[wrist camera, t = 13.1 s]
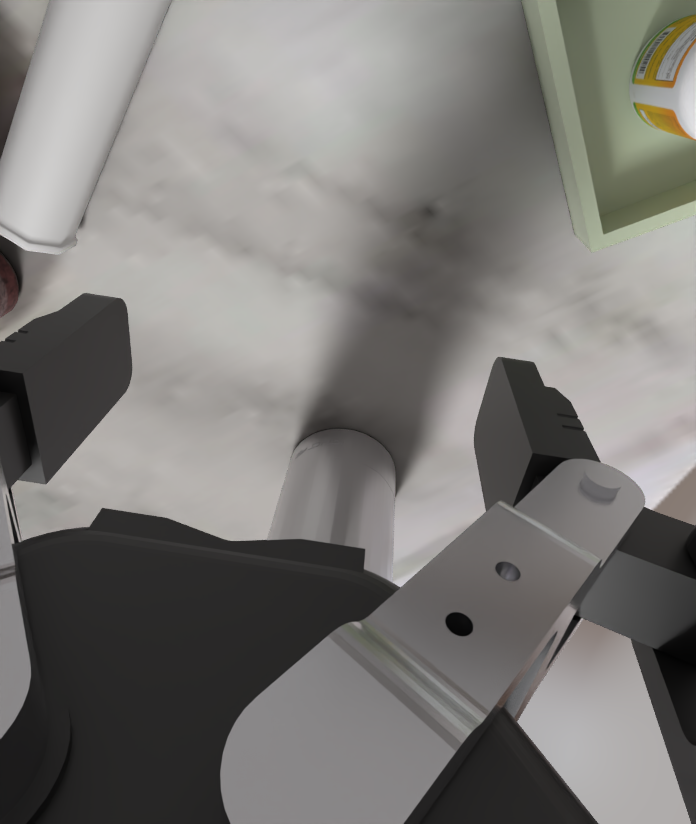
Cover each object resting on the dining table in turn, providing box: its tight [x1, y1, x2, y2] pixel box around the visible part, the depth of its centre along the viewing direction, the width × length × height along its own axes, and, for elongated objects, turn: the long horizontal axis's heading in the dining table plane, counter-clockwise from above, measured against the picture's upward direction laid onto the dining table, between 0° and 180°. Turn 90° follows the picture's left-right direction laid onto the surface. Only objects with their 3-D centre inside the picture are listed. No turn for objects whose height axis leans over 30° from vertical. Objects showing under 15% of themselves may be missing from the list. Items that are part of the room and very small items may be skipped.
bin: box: [521, 0, 696, 253], centre depth 29 cm, size 14×14×4 cm
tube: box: [0, 0, 171, 255], centre depth 31 cm, size 5×5×25 cm
